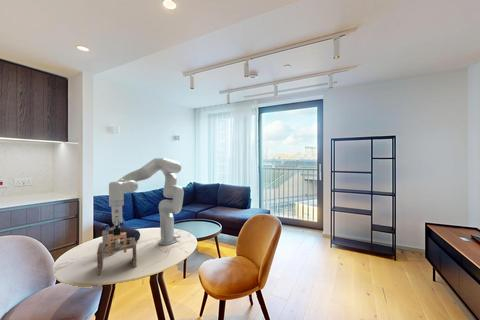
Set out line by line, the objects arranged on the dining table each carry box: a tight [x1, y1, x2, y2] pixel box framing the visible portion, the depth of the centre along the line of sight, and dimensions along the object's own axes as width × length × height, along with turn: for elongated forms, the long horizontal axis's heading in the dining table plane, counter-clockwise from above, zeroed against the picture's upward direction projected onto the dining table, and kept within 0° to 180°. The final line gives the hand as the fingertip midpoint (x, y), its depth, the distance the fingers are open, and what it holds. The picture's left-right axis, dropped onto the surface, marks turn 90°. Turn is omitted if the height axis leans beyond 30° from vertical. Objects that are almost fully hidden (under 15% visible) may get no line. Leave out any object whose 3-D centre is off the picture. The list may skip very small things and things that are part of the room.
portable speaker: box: [120, 225, 141, 244], centre depth 168 cm, size 25×10×10 cm, turn 59°
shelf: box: [96, 237, 137, 277], centre depth 129 cm, size 19×14×14 cm
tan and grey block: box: [107, 225, 127, 257], centre depth 128 cm, size 9×4×15 cm, turn 118°
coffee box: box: [101, 226, 120, 256], centre depth 147 cm, size 9×6×16 cm
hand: (117, 233), depth 128 cm, fingers closed on tan and grey block, 3 cm apart
